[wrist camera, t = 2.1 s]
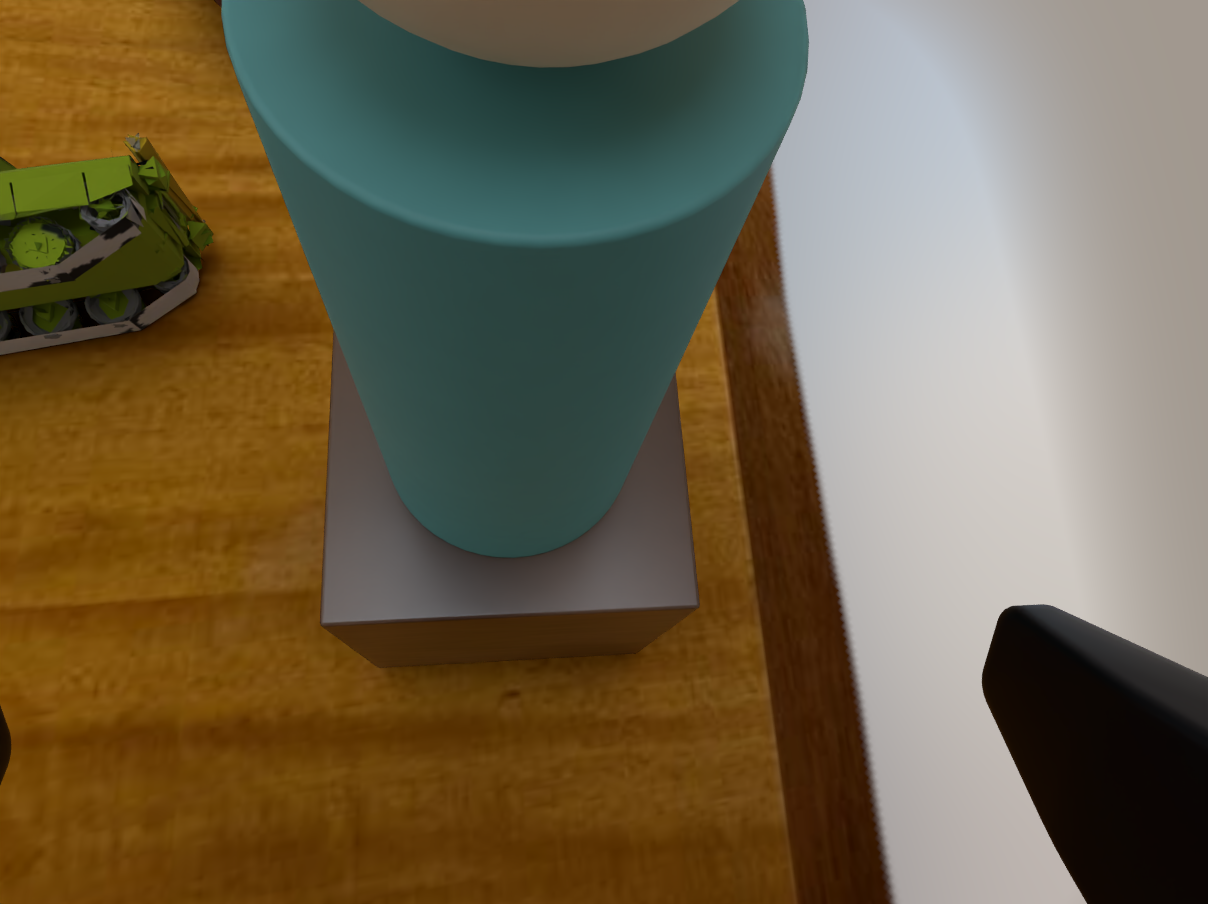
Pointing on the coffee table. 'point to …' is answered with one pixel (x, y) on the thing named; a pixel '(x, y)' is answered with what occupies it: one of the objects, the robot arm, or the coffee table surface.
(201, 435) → the coffee table surface
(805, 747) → the coffee table surface
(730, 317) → the coffee table surface
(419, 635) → the walnut block
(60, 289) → the toy tank
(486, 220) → the wooden doll
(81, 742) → the coffee table surface
